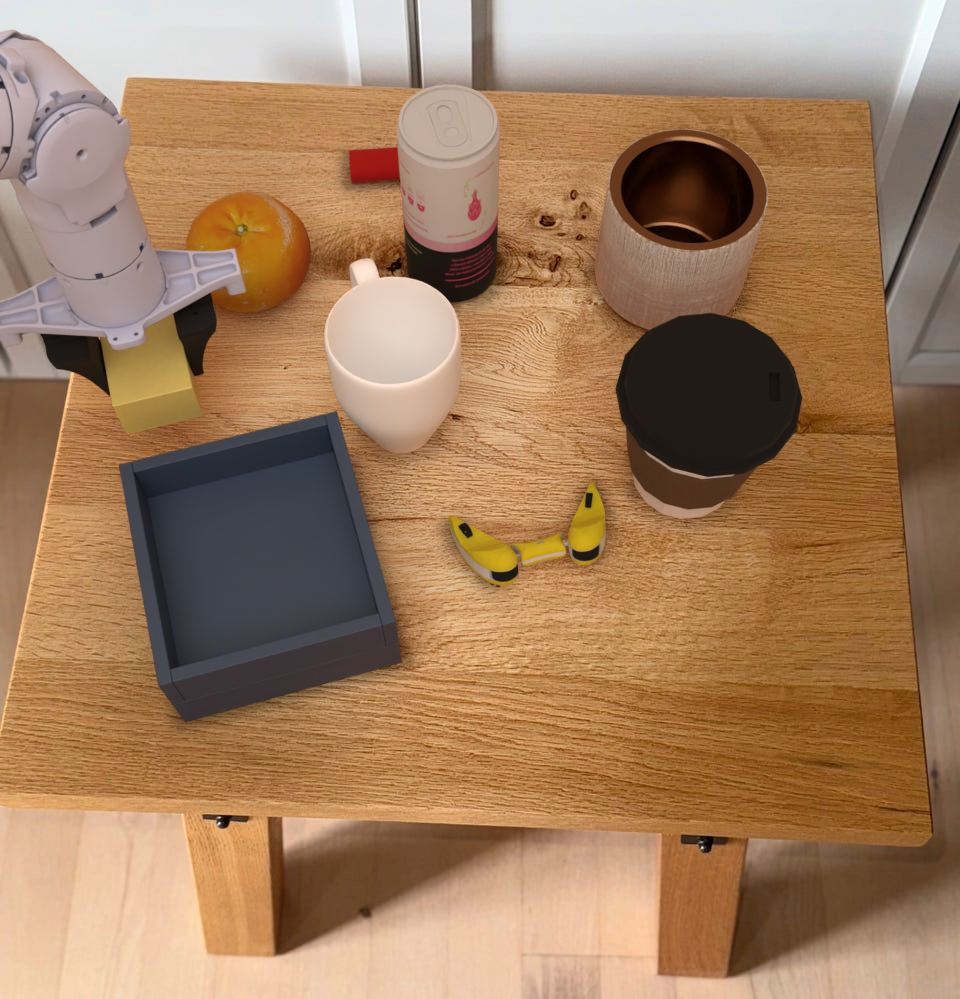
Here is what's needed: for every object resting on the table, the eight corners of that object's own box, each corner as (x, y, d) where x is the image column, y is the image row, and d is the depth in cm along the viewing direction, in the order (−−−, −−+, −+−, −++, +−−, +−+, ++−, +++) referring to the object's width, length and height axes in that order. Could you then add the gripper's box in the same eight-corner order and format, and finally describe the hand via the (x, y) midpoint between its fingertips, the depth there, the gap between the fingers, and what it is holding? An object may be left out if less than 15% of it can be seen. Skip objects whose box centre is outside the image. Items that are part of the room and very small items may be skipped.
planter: (683, 198, 92) (705, 104, 83) (771, 297, 88) (804, 209, 79) (564, 257, 89) (574, 167, 81) (649, 362, 85) (669, 278, 76)
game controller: (475, 611, 75) (469, 572, 73) (451, 545, 80) (445, 506, 78) (626, 573, 76) (625, 533, 74) (594, 510, 81) (592, 470, 79)
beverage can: (483, 227, 90) (485, 73, 77) (506, 296, 88) (512, 148, 74) (398, 245, 90) (385, 92, 76) (419, 315, 87) (409, 169, 73)
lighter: (348, 146, 92) (452, 139, 93) (350, 158, 93) (452, 151, 94) (350, 174, 91) (455, 167, 91) (351, 186, 92) (455, 179, 93)
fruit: (165, 308, 83) (203, 212, 78) (177, 246, 89) (213, 153, 84) (282, 350, 86) (325, 259, 81) (285, 286, 92) (326, 199, 88)
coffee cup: (760, 415, 83) (803, 311, 72) (764, 559, 78) (810, 471, 67) (602, 403, 83) (621, 298, 73) (595, 546, 78) (615, 456, 68)
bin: (185, 722, 73) (157, 685, 67) (146, 515, 79) (118, 464, 73) (402, 662, 75) (395, 621, 68) (347, 464, 81) (336, 410, 75)
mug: (479, 459, 81) (479, 365, 71) (361, 494, 80) (344, 404, 70) (424, 321, 86) (417, 215, 76) (312, 352, 85) (290, 249, 75)
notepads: (126, 435, 77) (112, 406, 74) (108, 336, 81) (93, 304, 78) (203, 416, 78) (192, 387, 75) (182, 318, 81) (170, 287, 78)
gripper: (-30, 326, 64) (50, 451, 76) (238, 265, 66) (274, 396, 78) (-43, 226, 67) (36, 361, 79) (214, 170, 69) (252, 311, 81)
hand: (153, 373), depth 79 cm, fingers closed on notepads, 5 cm apart
